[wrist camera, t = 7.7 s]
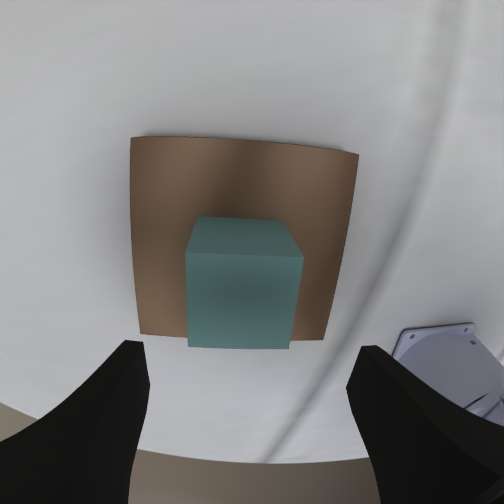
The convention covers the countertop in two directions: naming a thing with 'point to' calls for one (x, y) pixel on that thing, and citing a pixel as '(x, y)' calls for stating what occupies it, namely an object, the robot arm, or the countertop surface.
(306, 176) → the walnut plinth
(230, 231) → the teal block
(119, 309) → the countertop surface
